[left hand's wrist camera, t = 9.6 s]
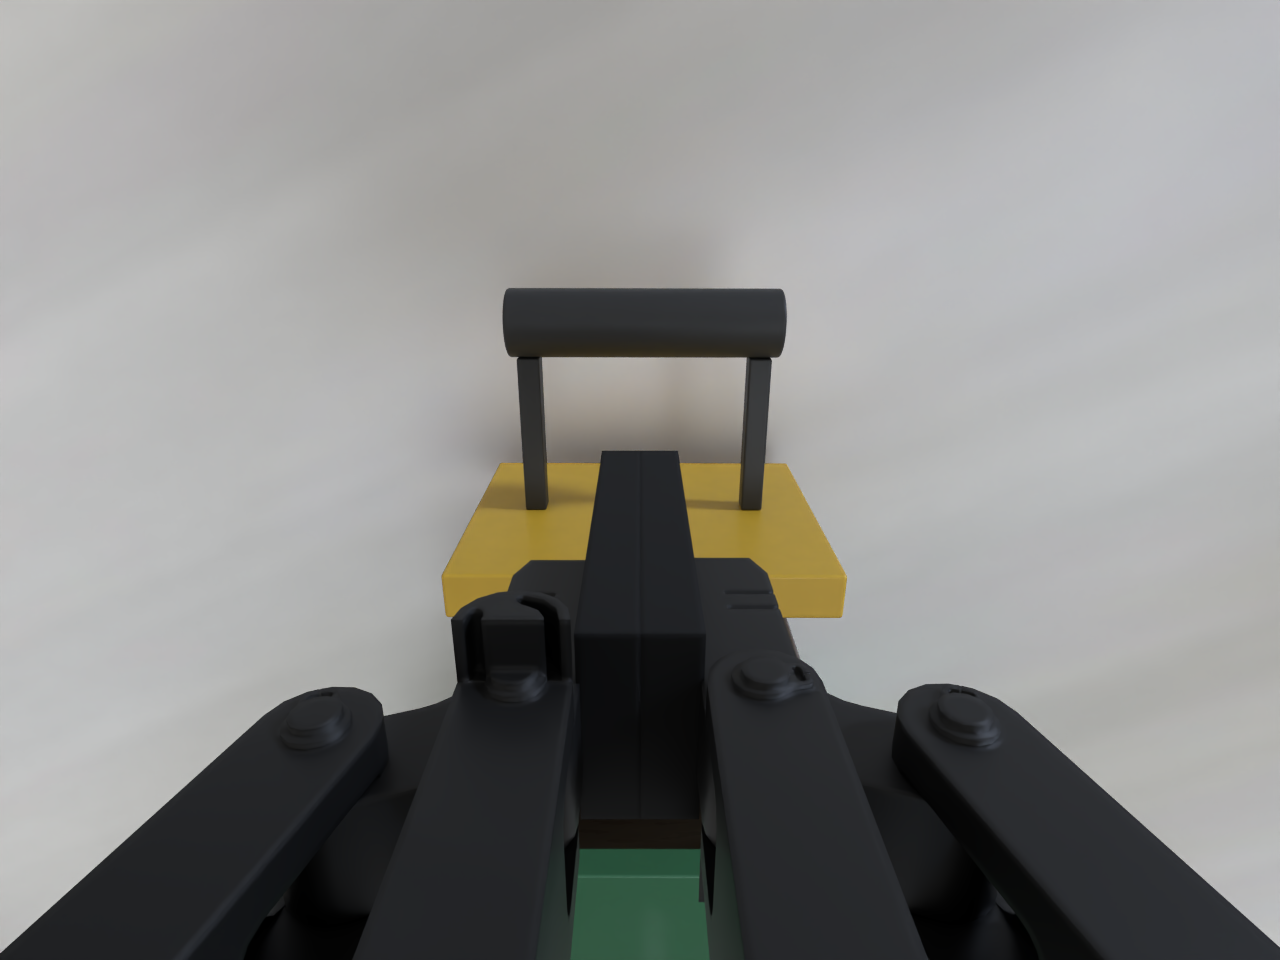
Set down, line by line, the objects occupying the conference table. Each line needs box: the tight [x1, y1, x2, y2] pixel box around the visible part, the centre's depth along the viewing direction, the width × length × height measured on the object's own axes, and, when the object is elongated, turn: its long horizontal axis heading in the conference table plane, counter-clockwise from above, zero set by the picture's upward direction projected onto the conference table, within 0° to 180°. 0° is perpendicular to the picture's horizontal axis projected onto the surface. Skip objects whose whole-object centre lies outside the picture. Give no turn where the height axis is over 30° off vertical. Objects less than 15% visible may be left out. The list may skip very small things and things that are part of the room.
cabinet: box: [570, 849, 710, 960], centre depth 27 cm, size 15×11×10 cm
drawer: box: [442, 288, 847, 849], centre depth 22 cm, size 20×10×8 cm, turn 0°
